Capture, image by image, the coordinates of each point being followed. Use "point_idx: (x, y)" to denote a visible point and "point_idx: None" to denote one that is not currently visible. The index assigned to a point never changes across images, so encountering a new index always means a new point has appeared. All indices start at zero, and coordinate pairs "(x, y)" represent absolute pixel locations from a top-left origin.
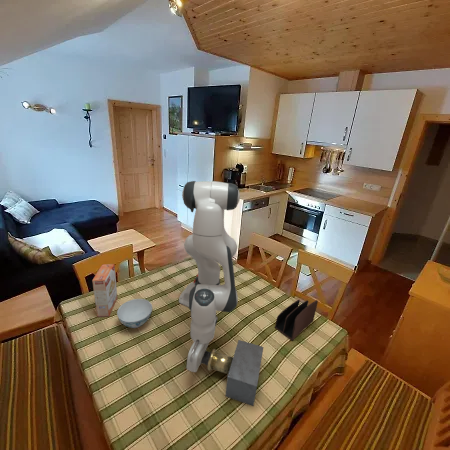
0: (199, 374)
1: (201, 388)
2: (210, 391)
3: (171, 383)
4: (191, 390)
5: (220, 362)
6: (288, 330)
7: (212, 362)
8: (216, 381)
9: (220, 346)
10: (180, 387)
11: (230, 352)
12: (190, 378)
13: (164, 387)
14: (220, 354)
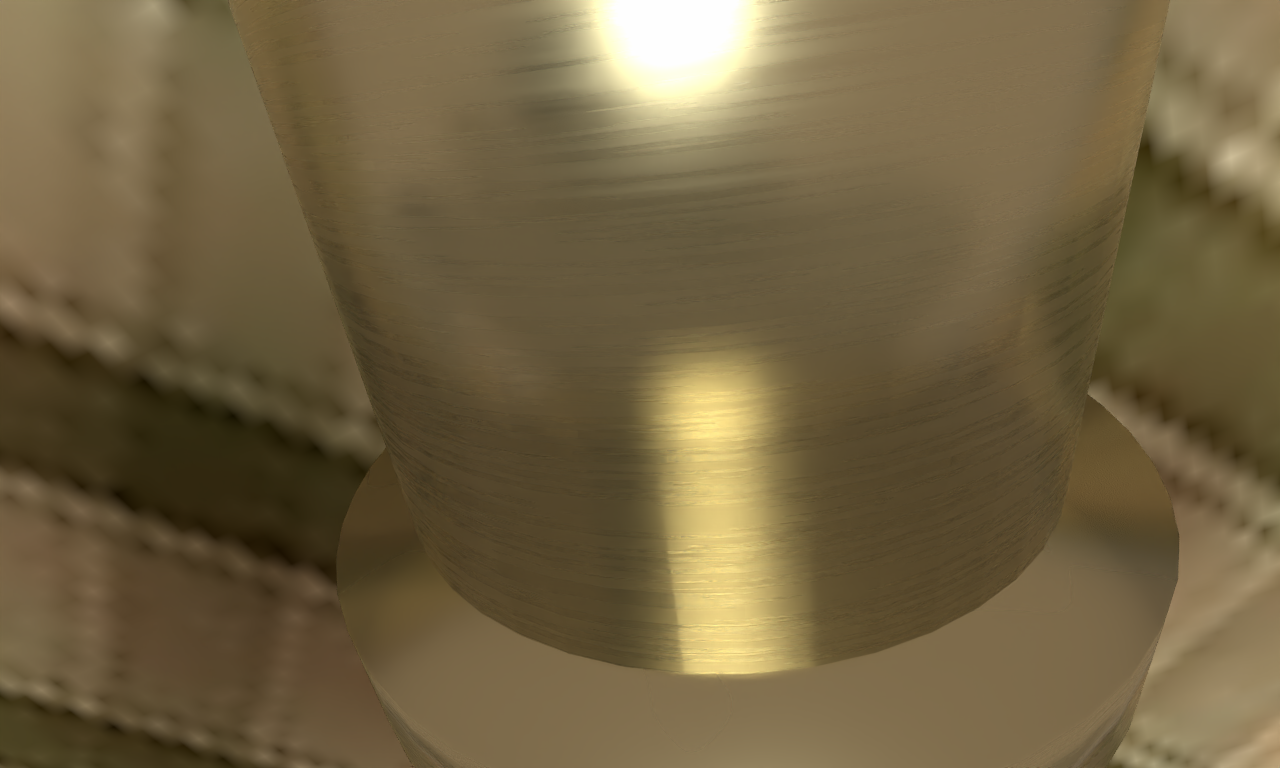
0: None
1: (1203, 298)
2: (1261, 71)
3: (1168, 723)
4: (1264, 446)
5: (1111, 29)
6: None
7: (1061, 485)
8: None
9: (94, 350)
10: (1221, 609)
11: (15, 43)
12: None
13: (1242, 762)
14: (494, 332)
